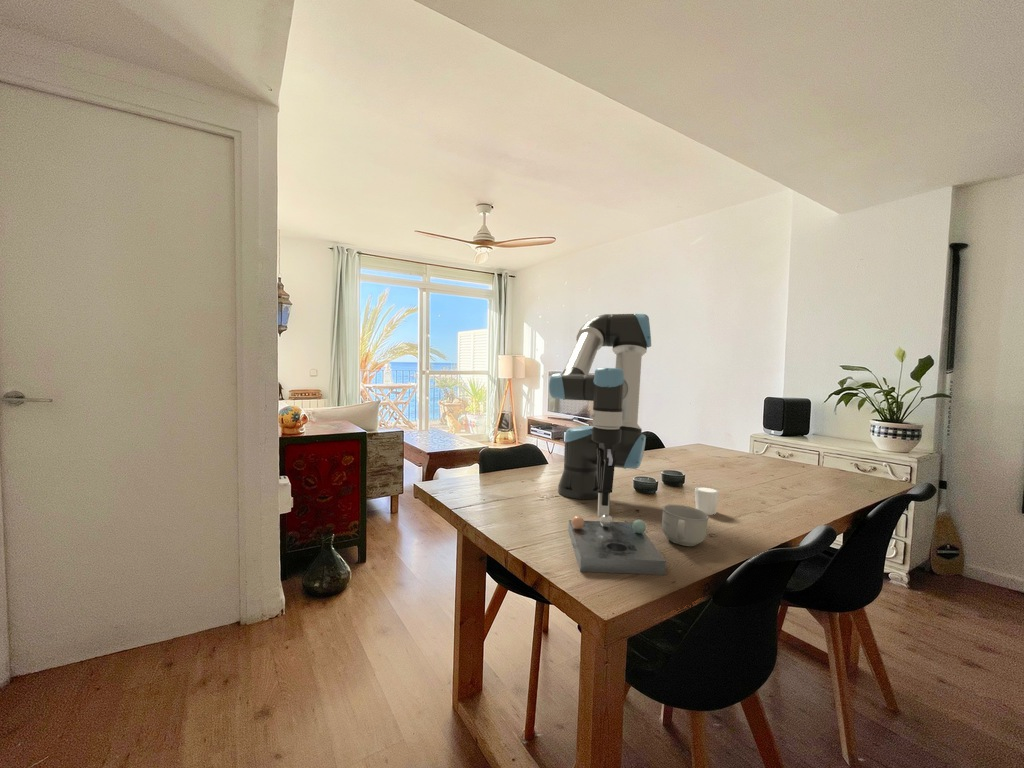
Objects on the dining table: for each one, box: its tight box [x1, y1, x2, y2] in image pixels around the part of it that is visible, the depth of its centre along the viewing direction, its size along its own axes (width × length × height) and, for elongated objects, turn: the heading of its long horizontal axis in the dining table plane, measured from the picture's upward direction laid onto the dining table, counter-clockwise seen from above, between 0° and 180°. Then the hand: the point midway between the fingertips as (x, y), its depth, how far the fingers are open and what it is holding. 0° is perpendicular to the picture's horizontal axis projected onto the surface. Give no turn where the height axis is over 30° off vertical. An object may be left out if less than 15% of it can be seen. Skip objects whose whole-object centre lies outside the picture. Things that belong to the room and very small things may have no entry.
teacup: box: [661, 504, 710, 547], centre depth 105 cm, size 14×11×8 cm
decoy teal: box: [632, 519, 647, 533], centre depth 104 cm, size 3×3×3 cm
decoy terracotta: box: [571, 515, 585, 529], centre depth 105 cm, size 3×3×3 cm
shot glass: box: [694, 486, 720, 516], centre depth 130 cm, size 7×7×7 cm
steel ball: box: [599, 514, 614, 528], centre depth 107 cm, size 3×3×3 cm
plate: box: [568, 519, 667, 576], centre depth 100 cm, size 22×18×3 cm
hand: (603, 516), depth 110 cm, fingers closed
